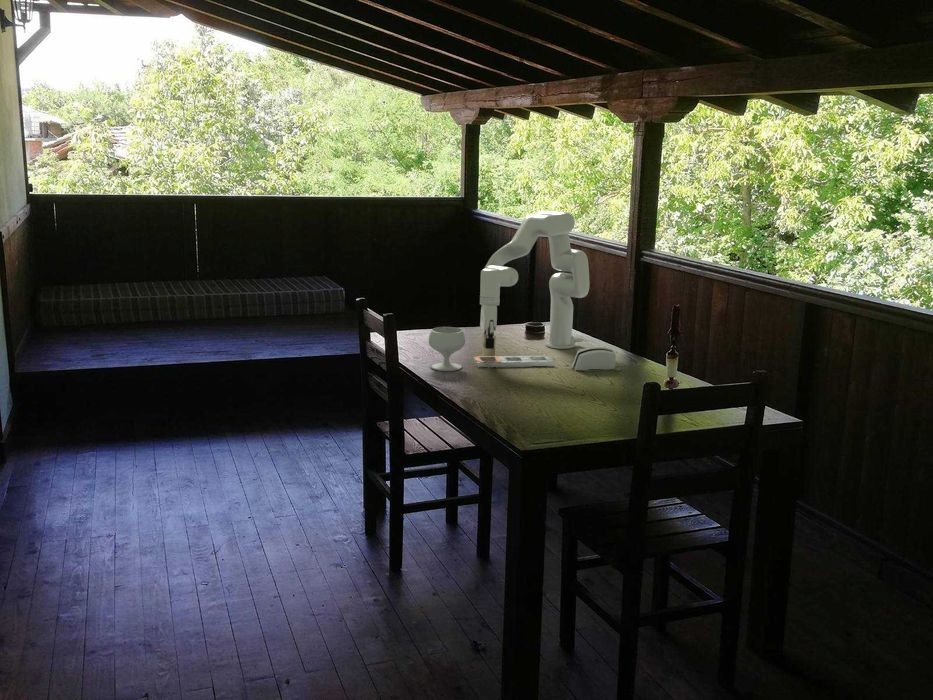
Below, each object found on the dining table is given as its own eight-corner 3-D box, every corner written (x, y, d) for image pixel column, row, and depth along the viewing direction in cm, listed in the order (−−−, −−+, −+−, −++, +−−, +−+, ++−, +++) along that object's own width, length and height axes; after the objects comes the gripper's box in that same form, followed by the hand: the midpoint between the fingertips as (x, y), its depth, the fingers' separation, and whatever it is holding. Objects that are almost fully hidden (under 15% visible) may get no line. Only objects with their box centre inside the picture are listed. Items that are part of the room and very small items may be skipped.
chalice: (457, 362, 346) (458, 325, 342) (469, 371, 333) (470, 332, 329) (423, 365, 341) (423, 327, 338) (434, 373, 328) (435, 334, 325)
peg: (492, 353, 345) (493, 333, 343) (495, 356, 341) (495, 335, 339) (481, 353, 344) (482, 333, 342) (483, 356, 340) (484, 336, 338)
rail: (547, 360, 352) (547, 354, 352) (553, 366, 342) (553, 360, 342) (473, 361, 347) (473, 356, 347) (477, 367, 338) (477, 362, 337)
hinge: (610, 365, 345) (614, 344, 340) (614, 372, 341) (619, 350, 336) (570, 367, 341) (574, 345, 336) (574, 374, 337) (578, 352, 332)
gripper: (476, 297, 345) (475, 342, 349) (484, 304, 329) (482, 351, 333) (495, 297, 346) (493, 342, 350) (503, 304, 330) (502, 351, 334)
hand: (488, 346), depth 342 cm, fingers closed on peg, 4 cm apart
